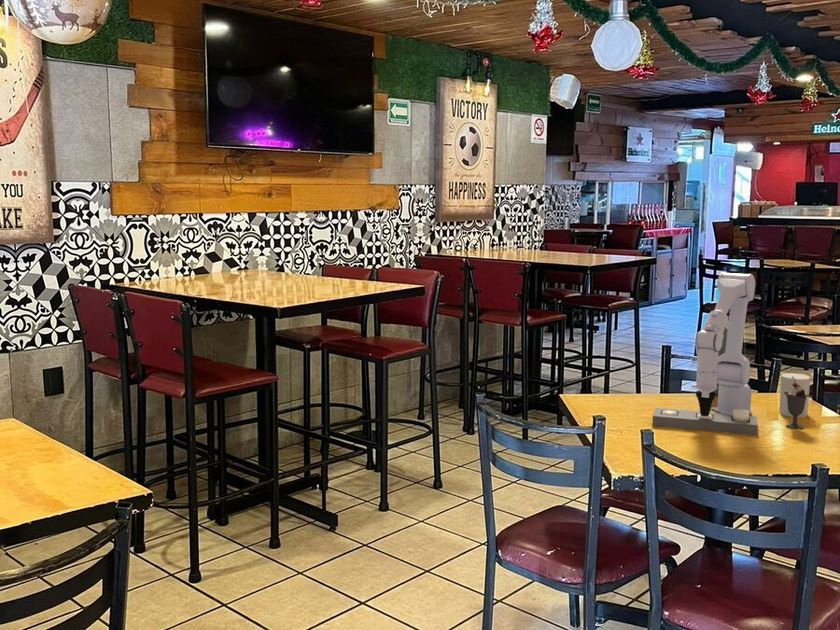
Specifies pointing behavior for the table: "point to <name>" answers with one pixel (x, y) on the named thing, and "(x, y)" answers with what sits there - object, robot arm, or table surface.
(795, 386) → the sundae
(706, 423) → the control strip
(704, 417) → the button mid
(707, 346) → the robot arm
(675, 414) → the button
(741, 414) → the button
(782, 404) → the cup
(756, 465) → the table surface
